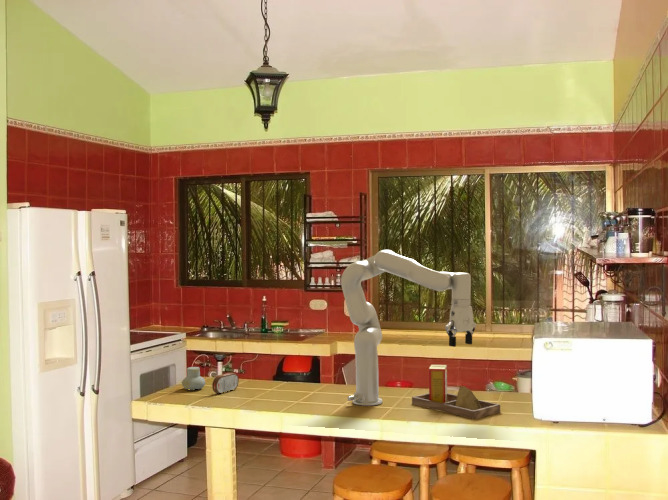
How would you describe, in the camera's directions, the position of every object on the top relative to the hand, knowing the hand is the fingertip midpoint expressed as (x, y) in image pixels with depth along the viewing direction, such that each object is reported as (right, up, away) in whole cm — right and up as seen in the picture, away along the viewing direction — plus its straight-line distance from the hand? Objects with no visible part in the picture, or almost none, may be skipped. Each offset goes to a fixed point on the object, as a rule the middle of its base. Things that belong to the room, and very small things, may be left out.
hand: (460, 345), depth 283 cm
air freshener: (-117, -27, +43) cm, 128 cm away
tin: (-101, -27, +36) cm, 111 cm away
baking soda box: (-8, -26, +7) cm, 28 cm away
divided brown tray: (-2, -26, 0) cm, 26 cm away
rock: (+2, -26, -6) cm, 27 cm away
